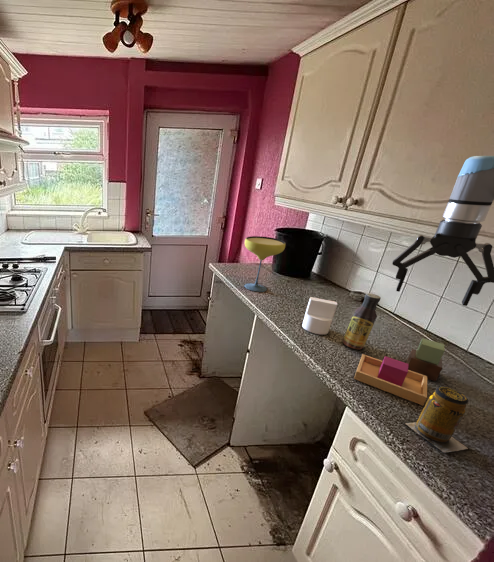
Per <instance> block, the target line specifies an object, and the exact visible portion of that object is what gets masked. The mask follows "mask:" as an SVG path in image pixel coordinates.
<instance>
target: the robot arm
mask: <svg viewBox="0 0 494 562" xmlns="http://www.w3.org/2000/svg"><path fill="white" fill-rule="evenodd" d="M493 203H494V155H473V156H470V157H468V158H466V160H465V161H464V163H463V165H462V167H461V169H460V171H459V174H458V175H457V178H456V181H455V183H454V186H453V188H452V191H451V193H450V196H449V199H448V201H447V204H446V206H445V209H444V211H443V214H442V218H443V219H441V220H440V221H439V224H438V226H437V229H436V231H435V234H434V235H433V236H432V237H430V236H425V235H423V234H419V235H418V236H417V238H416V240H415V241H414V242H413V243H412V244H411V245H410V246H408V247H407V248H406V249H405V250H404V251H403V252H401V253H400V254H399V255H398V256H397V257H396V258H395V259H393V260H392V262H391V265H392V266H395V267H397V268H398V270H397V272H396V274H395V280H398V283H397V286H396V290H395V292H398V293H400V291H401V290H402V287H403V284H404V281H405V278H406V276H407V273H408V270H409V269H408V268H409V267H410V266H413V265H414V264H417V263H419V262H420V261H422V260H425V259H426V258H428V257H430V256H433V255H435V254H436V255H438V256H441V257H450V258H454V259H456V258H460V257H461V259H462V260H463V261H464V263H465V264H466V266H467V267H468V269H469V270H470V272H471V273H472V275H473V276H474V278H475V279H476V280H475V279H471V281H470V283H469V285H468V288H467V290H466V292H465V293H464V296H463V298H462V300H461V305H462V306H464V307H468V305H469V303H470V301H471V299H472V297H473V295H479V294H480V293H481V291H482V289H483V287H484V285H485V284H487V283H488V284H489V283H493V284H494V262H493V258H492V254H491V253H492V249H493V244H491V243H490V242H485V243H477V242H476V241H477V238H478V236H479V234H480V231H481V229H482V227H483V224H482V222H484V221H486V218H487V217H488V214H489V211H490V209H491V206H492V205H493ZM427 243H429V244H430V245H431V247H430V248H428V249H426V250H424V251H422V252H420V253H419V254H417V255H415V256H413V257H411V258H409V259H407V260H405V259H406V258H408V257H409V256H410V255H412V254H413V253H414V252H415V251H416V250H417V249H419V247H420V246H421V245H425V244H427ZM475 249H477V251H478V252H479V253H481V256H482V260H483V264H484V268H485V271H486V275H487V276H484V275H483V274H482V273H481V272H480V270H479V269H478V267H477V266H476V264H475V263H474V261H473V260H472V258H471V257H470V256H469V254H468V253H469V252H471V251H473V250H475ZM404 260H405V261H404Z"/></svg>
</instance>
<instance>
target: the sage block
mask: <svg viewBox="0 0 494 562" xmlns="http://www.w3.org/2000/svg"><path fill="white" fill-rule="evenodd" d="M416 350H417V351H416V358H418V359H421V360H424V361H427V362H431V363H434V364H437V365H438V364H439V362H440V359H441V358H442V357H443V355H444V353H445V351H446V350H445V344H444V343H441V342H438V341H434V340H431V339H427V338H424V337H422V338H421V339H420V342H419V343H418V346H417V349H416Z"/></svg>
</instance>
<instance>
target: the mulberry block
mask: <svg viewBox="0 0 494 562" xmlns="http://www.w3.org/2000/svg"><path fill="white" fill-rule="evenodd" d="M383 357H384V358H383V359H382V361H383V362H382V364H381V367H380V369H379V372H378V377H377V378H379V379H382V380H385V381H387V382H390V383H393V384H396V385H398V386H402V384H403V382H404V380H405V378H406V375H407V373H408V366H409V364H407V363H406V362H404V361H401V360H398V359H395V358H392V357H389V356H386V355H384V356H383Z"/></svg>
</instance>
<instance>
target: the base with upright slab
mask: <svg viewBox="0 0 494 562" xmlns="http://www.w3.org/2000/svg"><path fill="white" fill-rule="evenodd" d="M337 307H338V302H337V301H334V300H329V299H323V298H318V297H313V296H310V297H309V300H308V303H307V307H306V309H305V314H304V317H303V321H302V325H301V326H302V328H303V329H304V330H305V331H307V332H310V333H312V334H315V335H322V336H323V335H327V334H329V332H330V330H331V329H330V328H331V326H332V322H333V319H334V316H335V314H336V310H337Z"/></svg>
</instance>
